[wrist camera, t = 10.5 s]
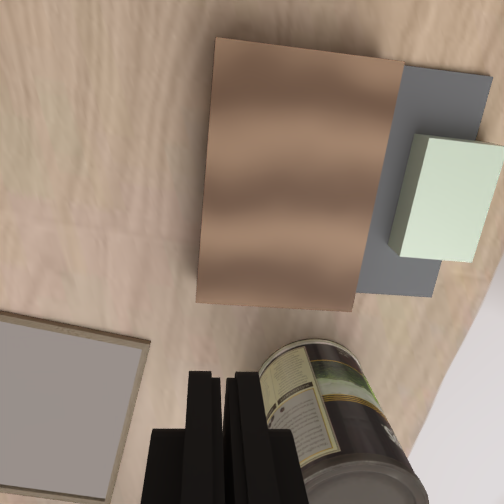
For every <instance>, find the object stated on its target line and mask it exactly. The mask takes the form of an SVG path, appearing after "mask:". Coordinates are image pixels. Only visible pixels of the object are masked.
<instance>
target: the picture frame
mask: <svg viewBox="0 0 504 504" xmlns="http://www.w3.org/2000/svg"><path fill="white" fill-rule="evenodd" d="M150 343H151V341H148V340H143V339H138V338H133V337H128V336H123V335H118V334H114V333H109V332H104V331H99V330H94V329H89V328H84V327H79V326H74V325H69V324H64V323H59V322H54V321H49V320H44V319H39V318H34V317H29V316H24V315H19V314H14V313H9V312H4V311H0V492H1V493H8V494H16V495H23V496H31V497H38V498H45V499H53V500H60V501H68V502H75V503H82V504H110V502H111V498H112V494H113V490H114V486H115V482H116V478H117V474H118V470H119V466H120V462H121V458H122V454H123V450H124V446H125V442H126V438H127V434H128V430H129V426H130V422H131V418H132V415H133V411H134V407H135V403H136V399H137V395H138V391H139V387H140V383H141V379H142V375H143V371H144V367H145V363H146V359H147V355H148V351H149V347H150Z"/></svg>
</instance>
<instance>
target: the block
mask: <svg viewBox="0 0 504 504" xmlns="http://www.w3.org/2000/svg"><path fill="white" fill-rule="evenodd" d="M503 162H504V146H502V145H498V144H493V143H489V142H482V141H473V140H465V139H457V138H448V137H440V136H431V135H423V134H414V138H413V142H412V146H411V150H410V154H409V159H408V163H407V167H406V171H405V175H404V180H403V184H402V188H401V192H400V196H399V200H398V205H397V209H396V213H395V217H394V221H393V225H392V230H391V234H390V238H389V242H388V246H389V247H390V248H391V249H392V250H393V251H394V252H395V253H396V254H397V255H398V256H399V257H411V258H423V259H435V260H447V261H459V262H471V263H472V261H473V257H474V254H475V251H476V248H477V245H478V242H479V238H480V235H481V232H482V229H483V226H484V222H485V219H486V216H487V213H488V210H489V207H490V203H491V200H492V197H493V194H494V191H495V187H496V184H497V181H498V178H499V175H500V171H501V168H502V165H503Z"/></svg>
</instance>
